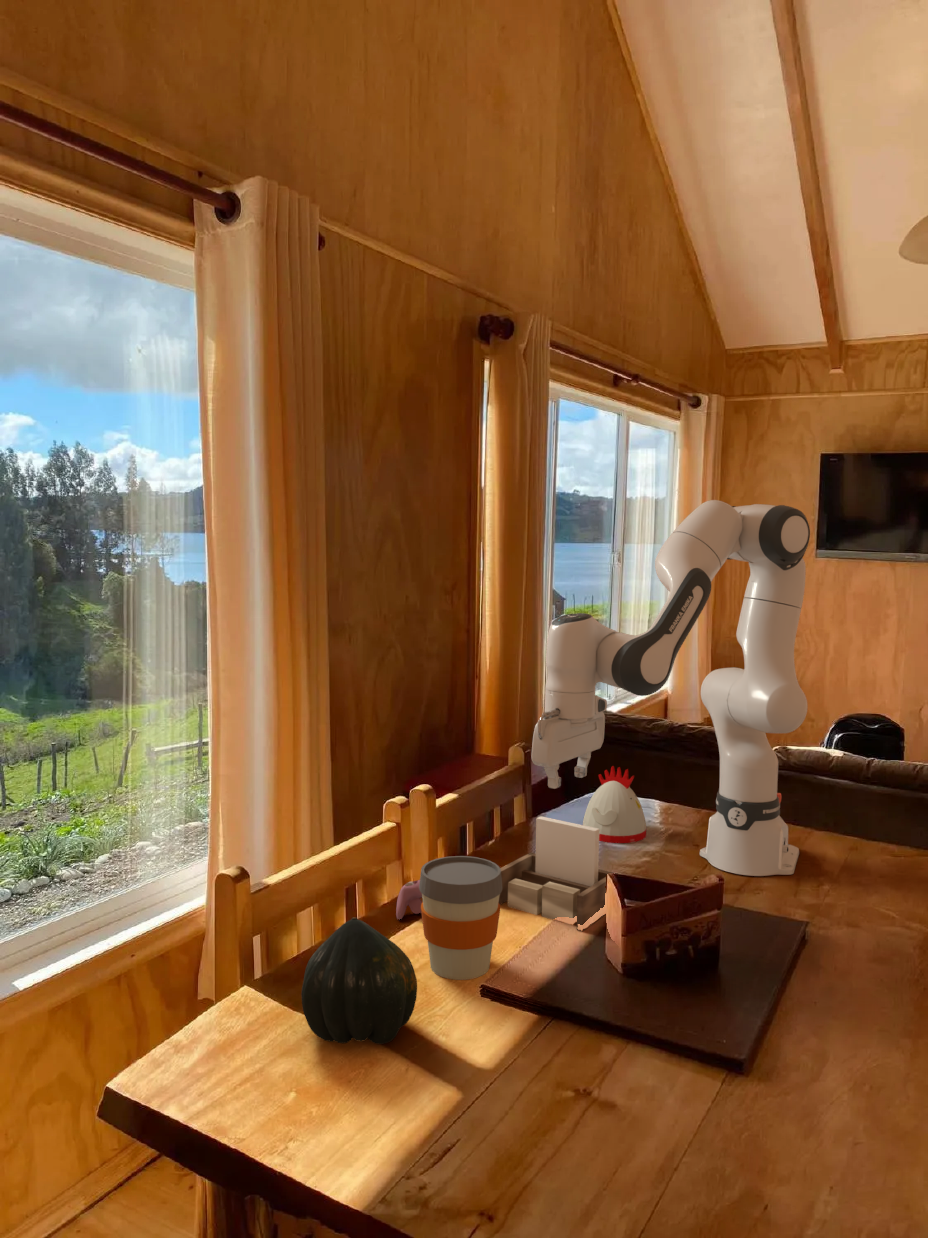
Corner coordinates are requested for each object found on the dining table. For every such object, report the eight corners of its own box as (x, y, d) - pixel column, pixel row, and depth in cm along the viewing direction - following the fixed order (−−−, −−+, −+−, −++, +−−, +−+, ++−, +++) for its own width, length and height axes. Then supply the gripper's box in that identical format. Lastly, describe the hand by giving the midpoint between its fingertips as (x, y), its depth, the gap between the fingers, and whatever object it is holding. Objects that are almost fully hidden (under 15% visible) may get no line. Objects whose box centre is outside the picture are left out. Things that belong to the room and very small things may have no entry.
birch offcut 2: (548, 912, 160) (549, 881, 159) (579, 921, 156) (580, 889, 156) (541, 916, 158) (542, 885, 157) (572, 925, 154) (573, 894, 154)
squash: (376, 1040, 108) (407, 916, 117) (266, 1021, 114) (304, 903, 122) (414, 1069, 119) (440, 953, 128) (312, 1050, 124) (344, 940, 133)
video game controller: (454, 924, 158) (456, 882, 161) (451, 922, 154) (454, 879, 157) (397, 921, 159) (400, 879, 162) (393, 919, 155) (396, 876, 157)
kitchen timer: (630, 847, 194) (632, 778, 193) (572, 835, 201) (573, 768, 200) (655, 830, 205) (657, 764, 204) (598, 820, 213) (600, 756, 212)
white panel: (539, 890, 170) (540, 816, 169) (597, 905, 163) (599, 828, 162) (534, 892, 168) (536, 818, 167) (593, 908, 162) (595, 831, 160)
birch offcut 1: (514, 903, 164) (515, 878, 164) (543, 911, 160) (544, 886, 160) (507, 907, 162) (508, 882, 162) (536, 915, 158) (537, 890, 158)
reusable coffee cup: (513, 957, 142) (515, 863, 141) (481, 993, 131) (482, 891, 130) (441, 941, 148) (442, 850, 146) (403, 974, 136) (404, 876, 135)
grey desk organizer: (530, 883, 173) (530, 852, 172) (617, 906, 162) (618, 873, 162) (491, 905, 162) (492, 872, 162) (582, 931, 152) (582, 896, 151)
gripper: (555, 716, 152) (553, 797, 153) (611, 700, 169) (609, 773, 170) (523, 711, 156) (521, 791, 157) (581, 696, 173) (579, 768, 174)
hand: (567, 782), depth 164 cm, fingers open, 8 cm apart
